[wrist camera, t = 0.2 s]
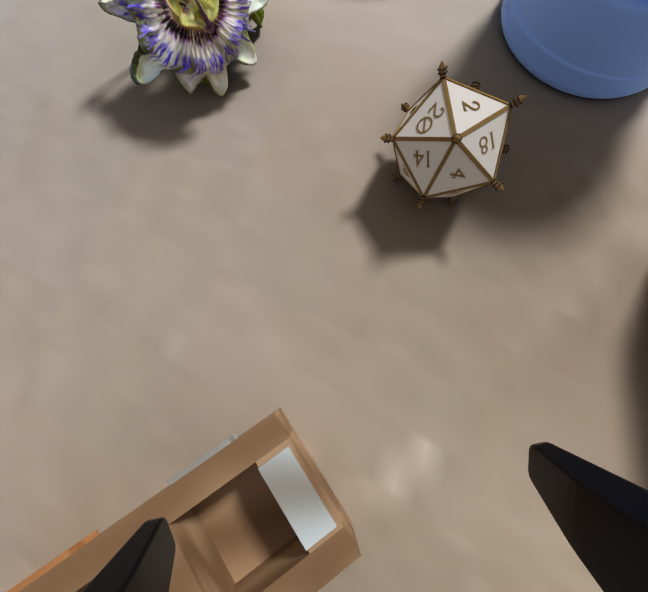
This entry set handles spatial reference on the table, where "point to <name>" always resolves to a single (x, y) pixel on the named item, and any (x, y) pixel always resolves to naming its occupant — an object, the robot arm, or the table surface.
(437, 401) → the table surface
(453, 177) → the game die
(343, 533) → the socket strip
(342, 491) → the table surface
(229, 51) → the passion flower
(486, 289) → the table surface
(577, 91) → the water jug
